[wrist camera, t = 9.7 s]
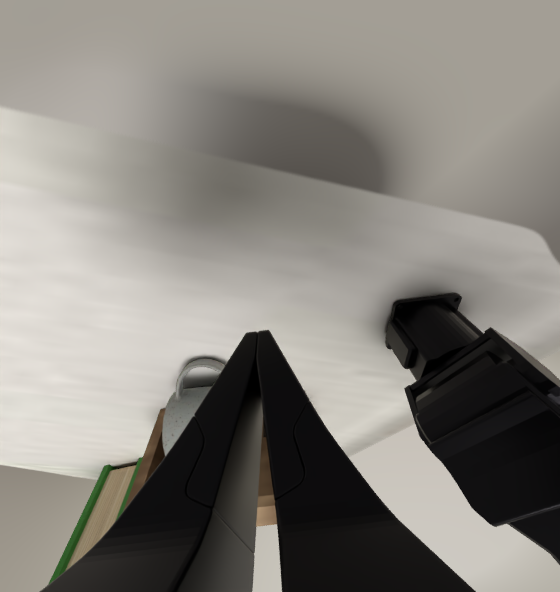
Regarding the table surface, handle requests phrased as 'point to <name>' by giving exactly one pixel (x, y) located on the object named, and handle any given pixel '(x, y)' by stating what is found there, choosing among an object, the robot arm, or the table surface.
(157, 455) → the wooden storage tray
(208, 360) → the ceramic mug
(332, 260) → the table surface
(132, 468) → the hardback book
